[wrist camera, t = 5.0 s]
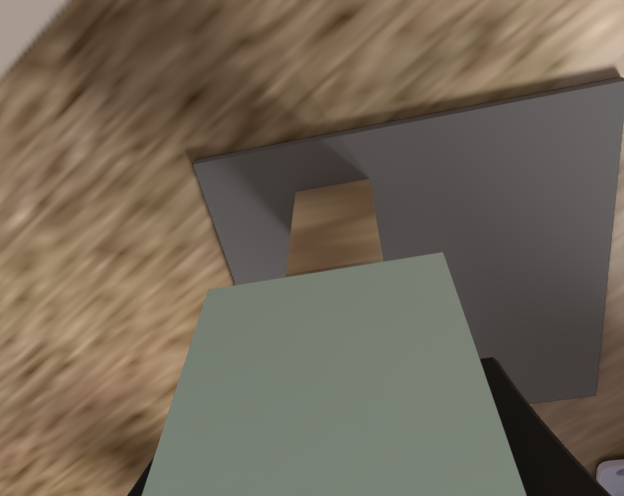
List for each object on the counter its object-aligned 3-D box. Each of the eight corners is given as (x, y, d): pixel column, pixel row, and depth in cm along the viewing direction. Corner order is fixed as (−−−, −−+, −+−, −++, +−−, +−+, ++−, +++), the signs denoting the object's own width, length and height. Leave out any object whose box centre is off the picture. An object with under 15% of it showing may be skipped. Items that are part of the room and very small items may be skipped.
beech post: (369, 178, 18) (382, 258, 14) (380, 242, 19) (394, 332, 15) (295, 192, 18) (285, 274, 14) (310, 253, 20) (306, 345, 15)
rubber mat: (621, 76, 16) (627, 80, 16) (591, 388, 24) (595, 395, 23) (195, 160, 18) (192, 164, 18) (288, 425, 25) (287, 432, 25)
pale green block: (442, 252, 11) (539, 534, 6) (458, 416, 14) (535, 708, 9) (207, 289, 12) (117, 571, 7) (266, 439, 14) (233, 721, 9)
